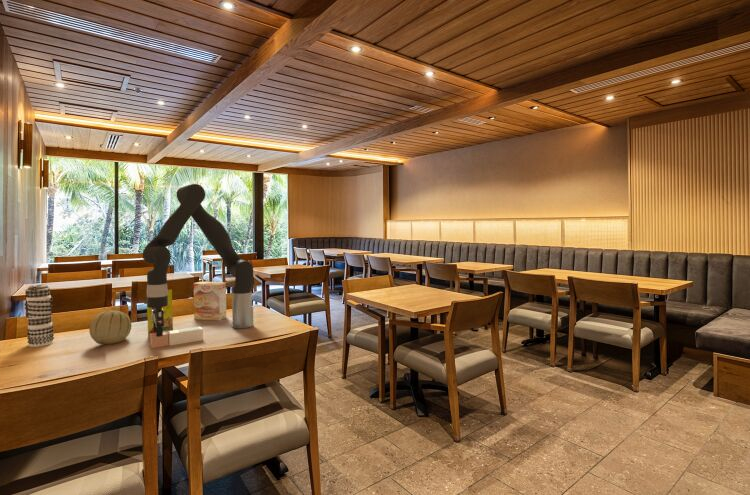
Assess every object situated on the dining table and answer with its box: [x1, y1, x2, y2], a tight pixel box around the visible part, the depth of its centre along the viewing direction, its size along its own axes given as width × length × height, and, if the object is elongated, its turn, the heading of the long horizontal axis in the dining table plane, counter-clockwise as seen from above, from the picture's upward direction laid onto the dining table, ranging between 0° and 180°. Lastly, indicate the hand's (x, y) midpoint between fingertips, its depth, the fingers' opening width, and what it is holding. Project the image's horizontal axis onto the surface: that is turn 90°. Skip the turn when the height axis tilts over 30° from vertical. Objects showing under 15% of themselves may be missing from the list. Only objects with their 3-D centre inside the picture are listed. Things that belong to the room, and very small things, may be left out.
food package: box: [146, 289, 174, 338], centre depth 177 cm, size 15×1×20 cm, turn 168°
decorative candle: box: [24, 284, 55, 348], centre depth 164 cm, size 9×9×25 cm
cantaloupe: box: [88, 307, 132, 346], centre depth 164 cm, size 15×15×15 cm
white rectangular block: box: [167, 326, 204, 347], centre depth 165 cm, size 13×5×5 cm, turn 126°
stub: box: [149, 331, 169, 349], centre depth 159 cm, size 6×5×5 cm
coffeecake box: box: [193, 281, 227, 321], centre depth 207 cm, size 15×7×20 cm, turn 80°
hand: (158, 333), depth 159 cm, fingers open, 8 cm apart
